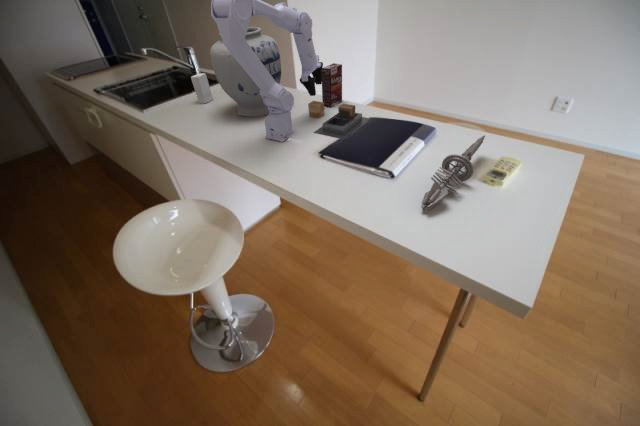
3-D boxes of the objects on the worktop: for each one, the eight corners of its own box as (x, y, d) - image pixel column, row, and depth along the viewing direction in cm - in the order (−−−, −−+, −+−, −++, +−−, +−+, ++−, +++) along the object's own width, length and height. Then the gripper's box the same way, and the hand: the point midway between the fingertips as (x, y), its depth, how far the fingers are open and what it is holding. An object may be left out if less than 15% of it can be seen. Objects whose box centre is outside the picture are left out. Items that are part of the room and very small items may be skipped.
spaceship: (505, 133, 78) (480, 117, 80) (449, 209, 61) (418, 186, 63) (486, 153, 84) (463, 138, 86) (430, 226, 68) (403, 205, 70)
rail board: (345, 142, 97) (345, 132, 95) (313, 135, 103) (312, 125, 101) (370, 120, 109) (371, 111, 107) (340, 115, 115) (340, 106, 113)
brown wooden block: (350, 125, 105) (350, 109, 101) (338, 123, 107) (337, 107, 103) (355, 121, 107) (355, 105, 104) (343, 119, 110) (343, 103, 106)
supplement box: (331, 110, 120) (330, 69, 110) (322, 108, 123) (320, 68, 113) (343, 103, 125) (342, 64, 115) (333, 102, 128) (332, 62, 118)
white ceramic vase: (277, 122, 114) (263, 34, 95) (215, 121, 118) (190, 37, 99) (292, 99, 134) (283, 22, 115) (239, 99, 139) (221, 26, 119)
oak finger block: (319, 120, 113) (319, 105, 109) (309, 118, 115) (308, 103, 111) (325, 117, 115) (324, 102, 111) (314, 115, 117) (313, 100, 114)
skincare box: (206, 99, 142) (198, 72, 134) (214, 99, 141) (206, 73, 133) (198, 103, 138) (189, 76, 130) (206, 104, 136) (197, 76, 128)
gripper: (310, 62, 93) (320, 100, 104) (323, 41, 101) (331, 78, 111) (291, 64, 96) (302, 100, 106) (305, 43, 104) (314, 79, 114)
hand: (316, 89), depth 109 cm, fingers open, 7 cm apart
